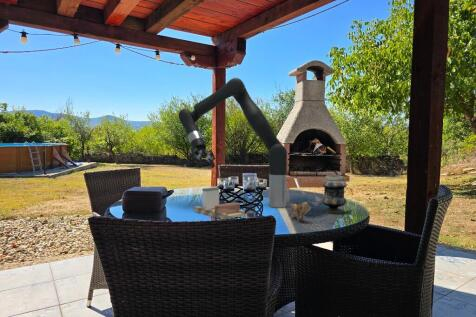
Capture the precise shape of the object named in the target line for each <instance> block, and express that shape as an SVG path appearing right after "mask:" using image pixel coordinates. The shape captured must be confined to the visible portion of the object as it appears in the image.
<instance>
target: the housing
mask: <svg viewBox="0 0 476 317" xmlns="http://www.w3.org/2000/svg"><path fill="white" fill-rule="evenodd" d="M240 205H241V204H240V203H239V202H235V201H234V202H227V203H221V204H219V205H215V208H213V209H206V208H203V206H198V205H195V206H193V212H195V213H199V214H202V215H205V216H209V217H212V218H217V219H219V218H220V220H223V219H229V220H232V219H231V218H233V217H238V218H241V216H243V217H245V216H246V211H245V210H243V209H241V208H240ZM233 219H234V218H233Z"/></svg>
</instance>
